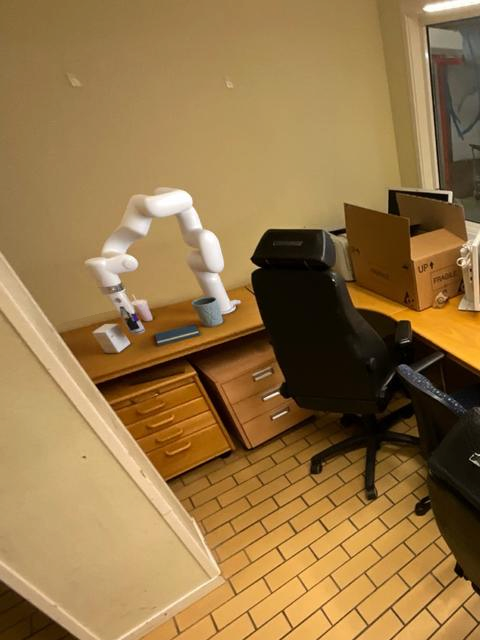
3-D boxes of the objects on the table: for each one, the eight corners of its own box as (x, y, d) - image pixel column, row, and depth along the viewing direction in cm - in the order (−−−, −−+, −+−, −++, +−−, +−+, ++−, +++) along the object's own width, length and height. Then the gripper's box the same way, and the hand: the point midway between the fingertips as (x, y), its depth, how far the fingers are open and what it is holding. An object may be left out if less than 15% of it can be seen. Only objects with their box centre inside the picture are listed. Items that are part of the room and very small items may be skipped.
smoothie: (137, 321, 196) (122, 295, 188) (150, 315, 201) (136, 290, 193) (145, 323, 194) (130, 297, 186) (159, 318, 199) (144, 292, 191)
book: (195, 325, 193) (194, 323, 192) (199, 335, 186) (198, 333, 185) (156, 335, 185) (155, 333, 184) (158, 345, 177) (157, 344, 177)
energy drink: (148, 329, 177) (134, 305, 170) (138, 335, 172) (123, 310, 166) (137, 328, 177) (123, 304, 170) (127, 334, 173) (112, 310, 166)
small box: (118, 344, 178) (104, 323, 172) (131, 343, 178) (118, 323, 172) (105, 353, 171) (91, 332, 165) (118, 353, 172) (105, 332, 166)
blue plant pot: (198, 323, 195) (187, 301, 188) (219, 316, 202) (209, 294, 195) (208, 329, 190) (197, 307, 183) (229, 321, 197) (220, 299, 190)
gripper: (124, 292, 159) (146, 331, 170) (122, 280, 170) (144, 317, 181) (100, 297, 155) (125, 336, 166) (100, 284, 166) (123, 321, 177)
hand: (134, 326), depth 173 cm, fingers closed on energy drink, 5 cm apart
